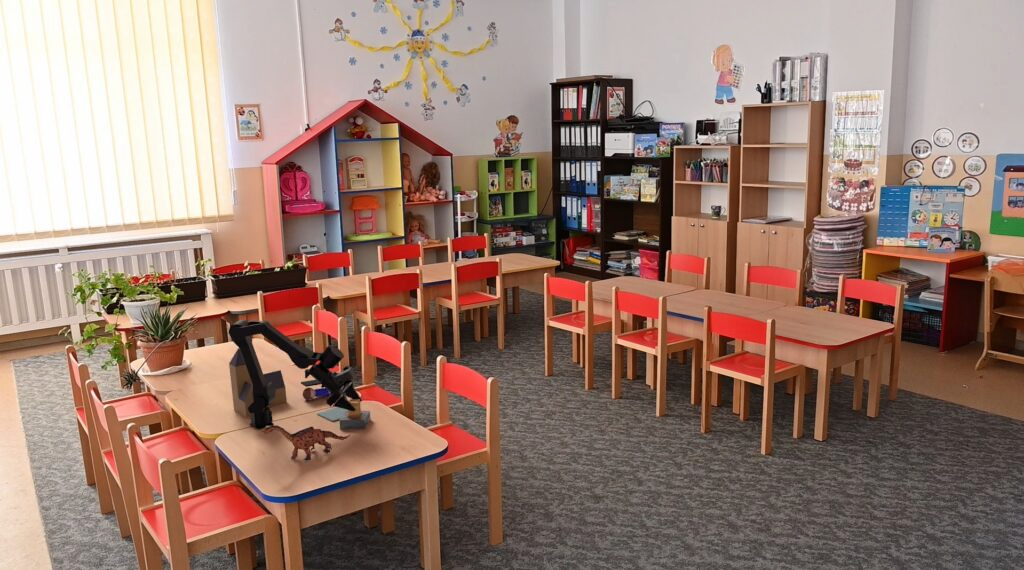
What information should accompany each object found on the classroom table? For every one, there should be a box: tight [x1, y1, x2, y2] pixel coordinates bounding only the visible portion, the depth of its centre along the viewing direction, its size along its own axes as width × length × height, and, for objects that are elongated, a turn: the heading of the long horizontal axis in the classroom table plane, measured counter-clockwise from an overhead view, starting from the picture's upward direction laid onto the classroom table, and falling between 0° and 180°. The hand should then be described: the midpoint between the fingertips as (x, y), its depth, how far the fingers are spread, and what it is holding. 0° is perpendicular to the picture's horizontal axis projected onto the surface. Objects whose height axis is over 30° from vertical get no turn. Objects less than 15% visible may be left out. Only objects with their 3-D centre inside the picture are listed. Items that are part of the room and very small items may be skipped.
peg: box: [348, 398, 362, 418], centre depth 286 cm, size 4×4×9 cm
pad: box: [316, 407, 348, 423], centre depth 298 cm, size 11×11×1 cm
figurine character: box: [300, 379, 330, 401], centre depth 317 cm, size 7×8×15 cm
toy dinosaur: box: [261, 424, 352, 462], centre depth 259 cm, size 8×30×15 cm, turn 137°
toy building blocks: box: [228, 347, 288, 419], centre depth 304 cm, size 12×19×25 cm, turn 130°
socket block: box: [338, 410, 372, 430], centre depth 287 cm, size 9×9×4 cm
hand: (357, 405), depth 286 cm, fingers open, 9 cm apart
